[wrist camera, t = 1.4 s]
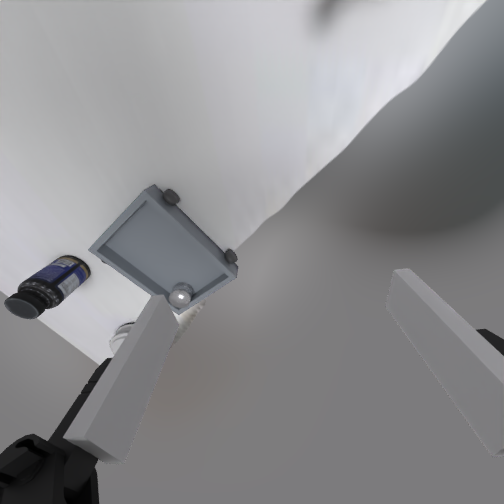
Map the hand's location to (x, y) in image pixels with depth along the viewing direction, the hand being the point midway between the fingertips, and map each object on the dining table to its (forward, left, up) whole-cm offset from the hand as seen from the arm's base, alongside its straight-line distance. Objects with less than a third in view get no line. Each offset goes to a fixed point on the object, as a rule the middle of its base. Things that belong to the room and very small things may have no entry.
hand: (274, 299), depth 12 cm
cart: (-2, -21, -24) cm, 31 cm away
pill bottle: (-12, -39, -24) cm, 47 cm away
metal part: (+5, -25, -22) cm, 34 cm away
